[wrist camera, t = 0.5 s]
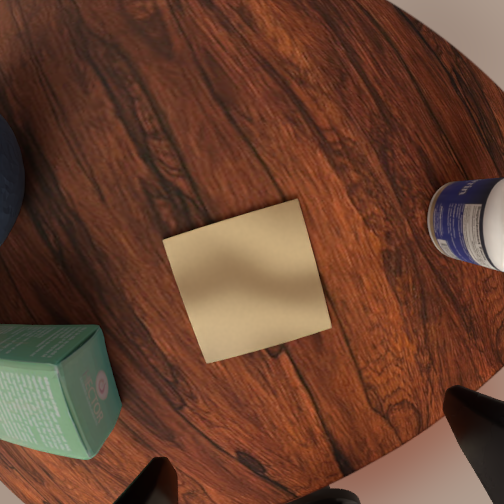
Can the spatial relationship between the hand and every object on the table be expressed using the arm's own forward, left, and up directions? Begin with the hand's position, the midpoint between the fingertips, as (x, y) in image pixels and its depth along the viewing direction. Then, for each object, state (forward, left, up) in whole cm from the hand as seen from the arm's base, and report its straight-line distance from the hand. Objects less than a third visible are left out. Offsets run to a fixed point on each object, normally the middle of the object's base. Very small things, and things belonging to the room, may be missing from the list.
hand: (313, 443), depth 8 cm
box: (0, +19, -14) cm, 23 cm away
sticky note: (+2, +1, -13) cm, 14 cm away
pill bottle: (+2, -15, -14) cm, 20 cm away
